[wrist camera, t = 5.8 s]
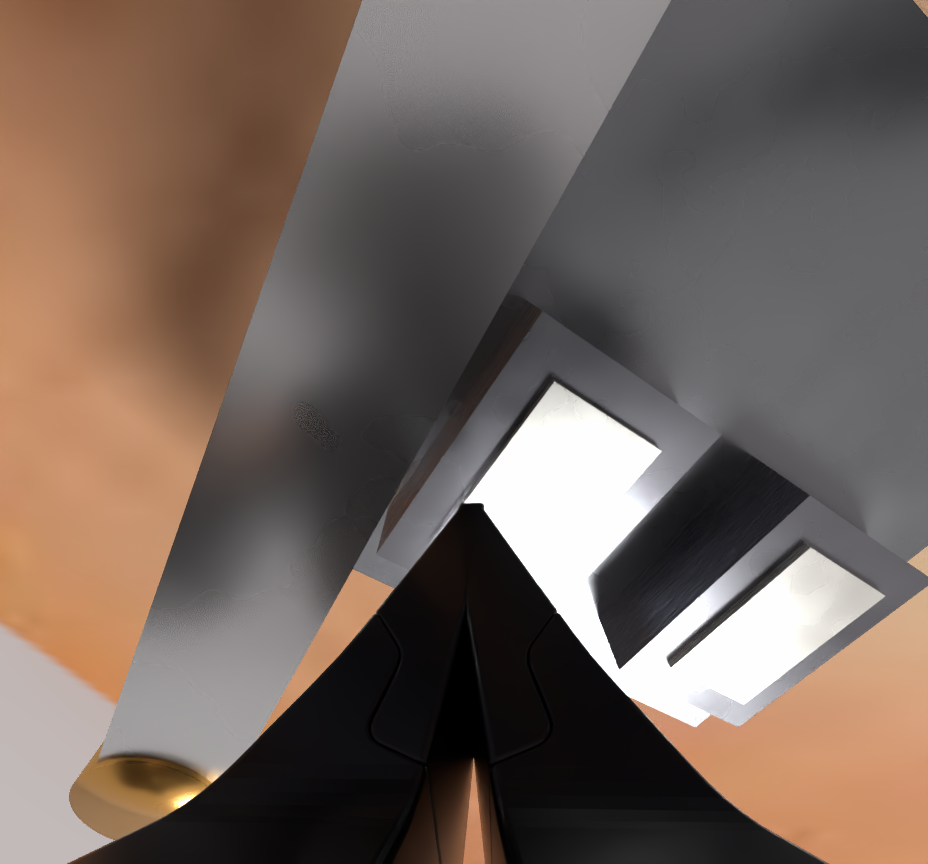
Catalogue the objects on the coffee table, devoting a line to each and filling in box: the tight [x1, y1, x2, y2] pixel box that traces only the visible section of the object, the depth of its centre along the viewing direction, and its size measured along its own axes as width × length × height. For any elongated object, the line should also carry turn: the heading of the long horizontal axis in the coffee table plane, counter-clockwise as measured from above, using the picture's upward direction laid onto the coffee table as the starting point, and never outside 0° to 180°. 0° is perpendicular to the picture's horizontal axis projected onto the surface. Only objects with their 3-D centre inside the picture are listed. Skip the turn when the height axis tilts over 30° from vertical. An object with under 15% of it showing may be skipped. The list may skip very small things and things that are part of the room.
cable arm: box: [69, 0, 671, 840], centre depth 6 cm, size 18×2×3 cm, turn 151°
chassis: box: [353, 0, 928, 727], centre depth 11 cm, size 18×16×3 cm
